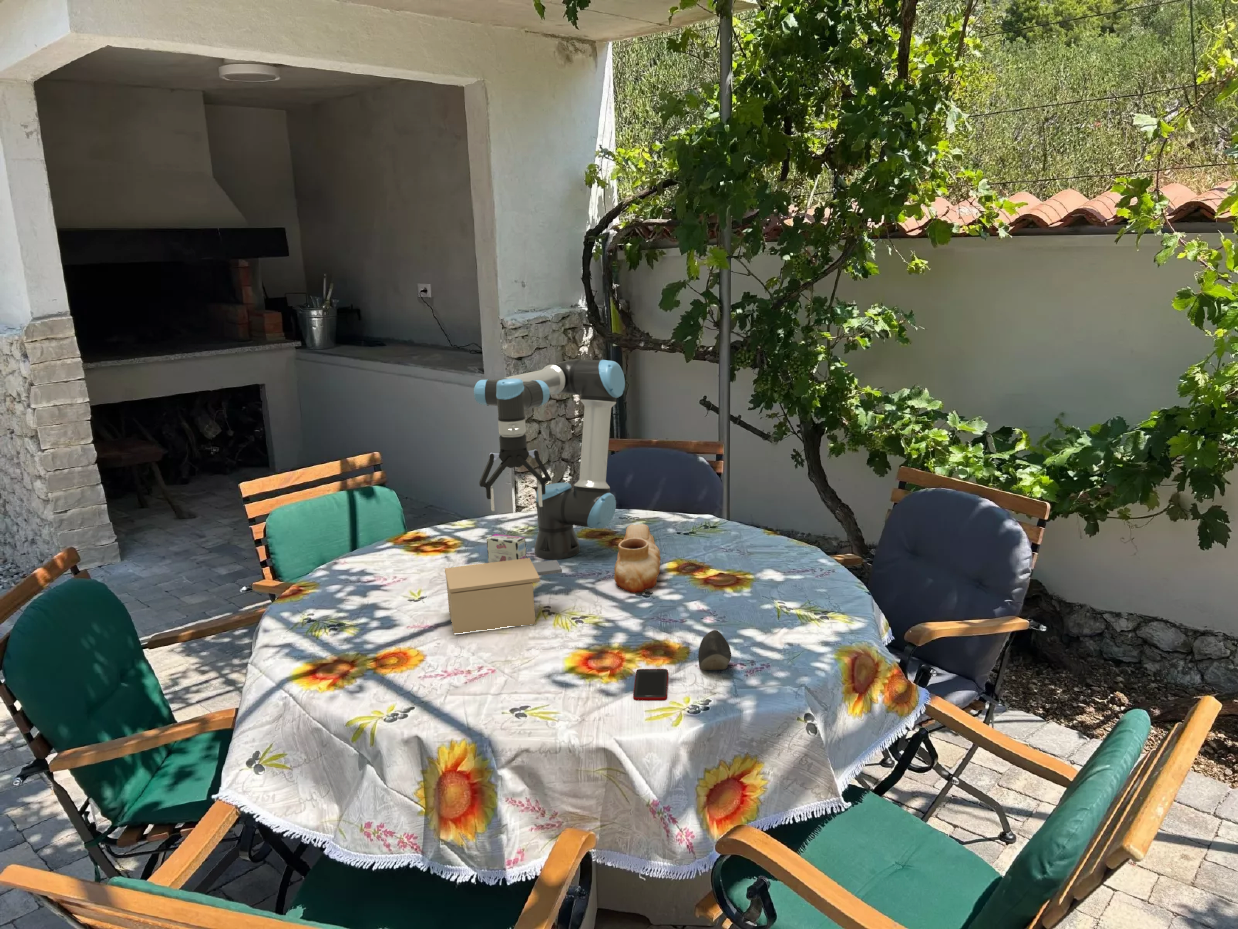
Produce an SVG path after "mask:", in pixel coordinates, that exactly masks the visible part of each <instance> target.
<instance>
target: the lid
mask: <svg viewBox="0 0 1238 929" xmlns="http://www.w3.org/2000/svg"><path fill="white" fill-rule="evenodd" d="M562 572H563V568H562V567H561V565H560V564H559V562H558V559H551V560H544V561H538V562H532V560H531V558H530V557H527V558H525V559H517V560H508V561H500V562H492V563H488V562H486V563H477V564H469V565H461V566H460V565H459V566H454V567H453V566H452V567H445V568H444V573H445V580H446V579H447V582H446V584H447V583H448V588H449V592H450V593H453V592H461V591H469V590H476V589H484V588H492V587H500V586H508V585H515V584H523V583H531V582H532V583H538V582H540V581H541V579H540V576H546V575H552V574H554V575H555V574H561V573H562Z"/></svg>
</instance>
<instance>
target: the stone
mask: <svg viewBox="0 0 1238 929" xmlns="http://www.w3.org/2000/svg"><path fill="white" fill-rule="evenodd" d="M697 656H698V659H697V660H698V665H699V668H700V670H701V671H711V670H712V671H713V670H716V671H718V670H727V668H728V666H729V663H730V662H731V659H732V651H731V647H730V644H729V643H728V641H727V639H726V638H725V636H724V635H723V634H722V633H721V632H720V631H719V630H717V629H713V630H711V631H709V632H707V633H706V634H705V635H704V636H703V637H702V639H701V641H700V644H699V647H698V655H697Z"/></svg>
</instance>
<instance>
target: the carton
mask: <svg viewBox="0 0 1238 929" xmlns="http://www.w3.org/2000/svg"><path fill="white" fill-rule="evenodd" d="M445 580H446V590H447V600H448V601H447V602H448V612H450V614H449V617H451V618H450V621H451V622H452V623H451V622H450V623H451V627H452V626H453V628H452V631H454V632H453V634H454V633H463V632H470V631H476V630H487V629H495V628H500V627H507V626H521V625H529V626H531V625H530V624H535V625H536V613H535V599H534V582H531V583H523V584H515V585H508V586H500V587H492V588H484V589H476V590H469V591H461V592H453V593H450V592H449V588H448V583H447V579H446V578H445ZM521 627H522V626H521Z"/></svg>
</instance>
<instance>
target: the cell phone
mask: <svg viewBox="0 0 1238 929" xmlns="http://www.w3.org/2000/svg"><path fill="white" fill-rule="evenodd" d="M668 684H669V669H667V668H637V669H636V670H635V677H634V686H633V694H632V699H633V701H643V702H645V701H661V702H662V701H666V700H667V698H668V686H669V685H668Z"/></svg>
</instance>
